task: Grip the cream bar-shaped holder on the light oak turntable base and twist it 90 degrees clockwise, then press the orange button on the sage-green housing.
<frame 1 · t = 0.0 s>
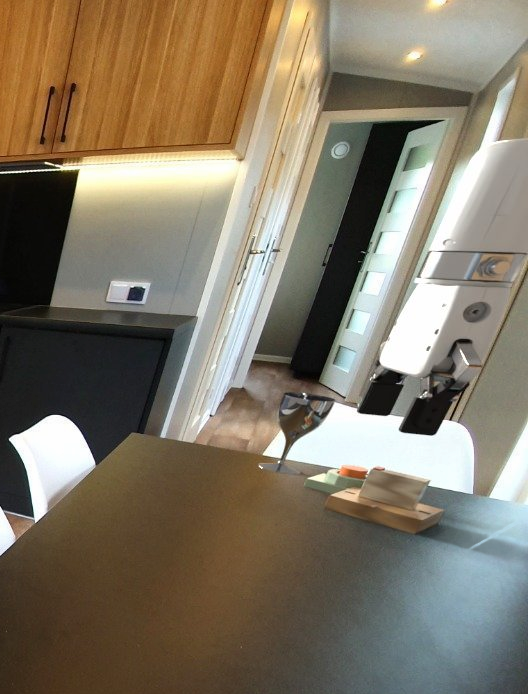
hand: (392, 423, 77), 22 cm above the table, tool pointing down, fingers open, 9 cm apart
wine glass: (278, 469, 131), on the table
button box: (343, 492, 119), on the table
holder: (393, 487, 107), point 5 cm above the table, hinge at 0.0°
holder base: (379, 515, 109), on the table
button: (353, 472, 118), point 4 cm above the table, slide at 0.1 cm
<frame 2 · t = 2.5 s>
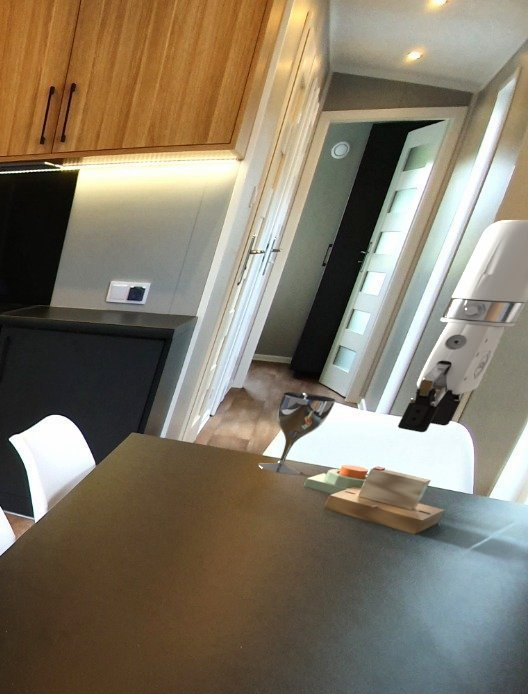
hand: (422, 426, 100), 16 cm above the table, tool pointing down, fingers open, 9 cm apart
nothing on the table moved.
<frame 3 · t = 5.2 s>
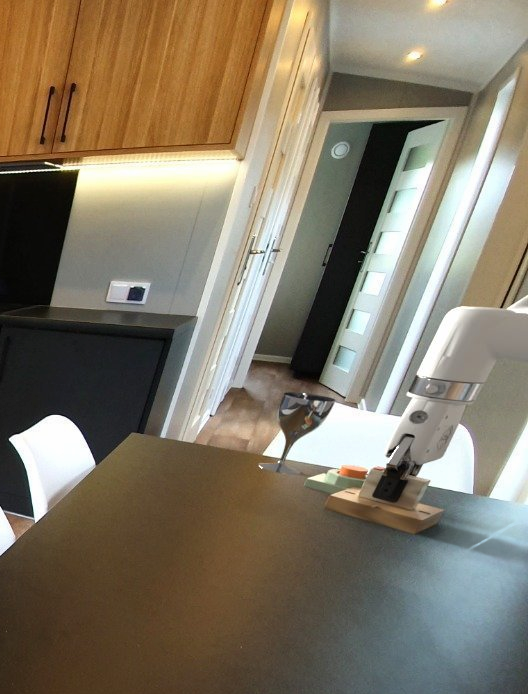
hand: (388, 497, 107), 3 cm above the table, tool pointing down, fingers closed on holder, 2 cm apart
holder: (393, 487, 107), point 5 cm above the table, hinge at -1.4°, touching gripper
everything else where it was.
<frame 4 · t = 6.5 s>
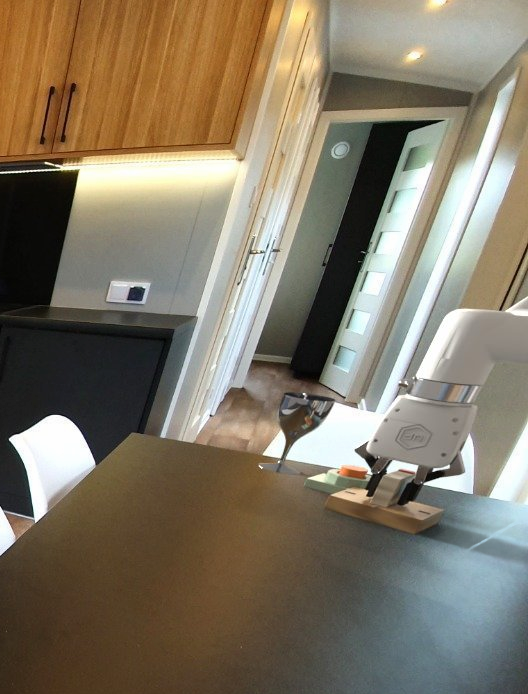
hand: (387, 498, 108), 3 cm above the table, tool pointing down, fingers open, 3 cm apart
holder: (393, 487, 107), point 5 cm above the table, hinge at -89.6°
everything else where it was.
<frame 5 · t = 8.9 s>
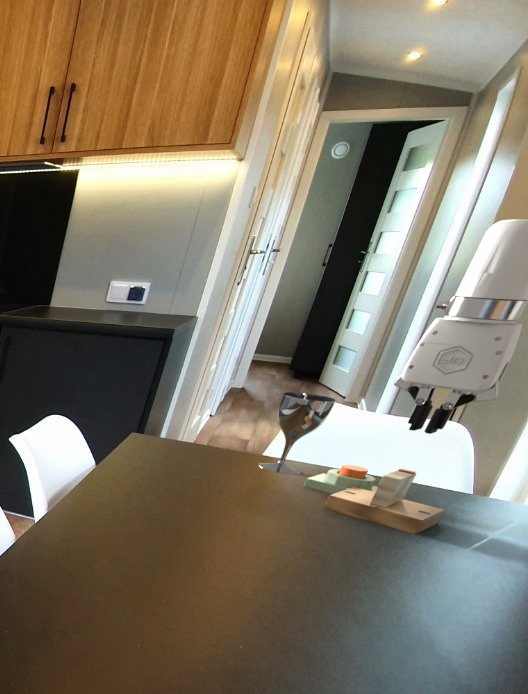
hand: (422, 430, 102), 15 cm above the table, tool pointing down, fingers closed
nothing on the table moved.
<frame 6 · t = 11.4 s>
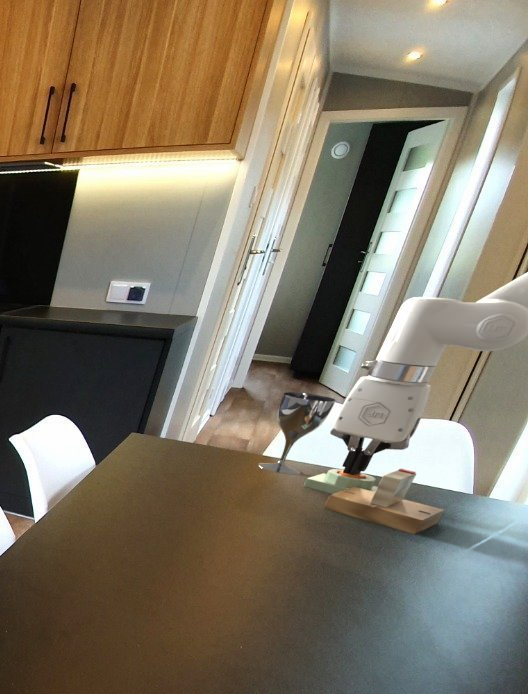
hand: (351, 472, 118), 4 cm above the table, tool pointing down, fingers closed
button: (350, 477, 118), point 3 cm above the table, slide at -0.9 cm, touching gripper
everything else where it was.
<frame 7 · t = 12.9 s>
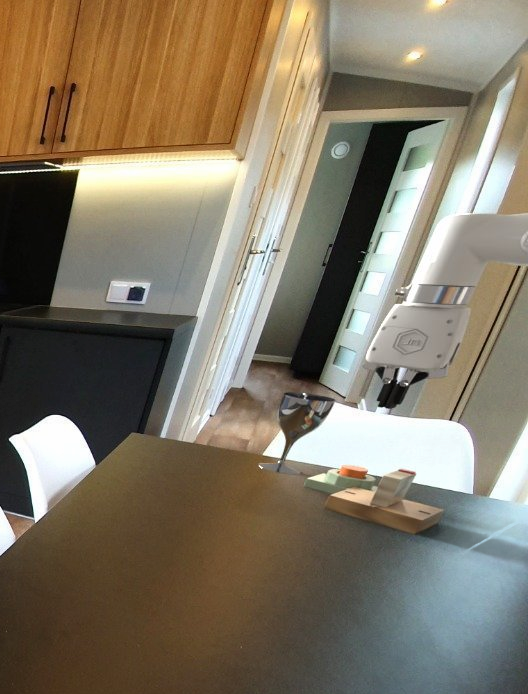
hand: (386, 407, 112), 16 cm above the table, tool pointing down, fingers closed
button: (353, 472, 118), point 4 cm above the table, slide at 0.1 cm
everything else where it was.
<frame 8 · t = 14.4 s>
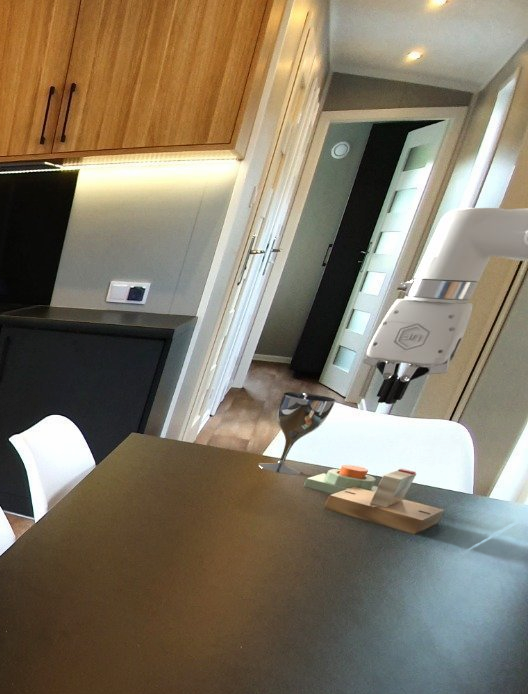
hand: (386, 402, 112), 17 cm above the table, tool pointing down, fingers closed
nothing on the table moved.
at the end: holder at -90° (first picture: +0°); button pushed in 1.1 cm at the most during the clip, back to where it started at the end; button slide at 0.1 cm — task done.
